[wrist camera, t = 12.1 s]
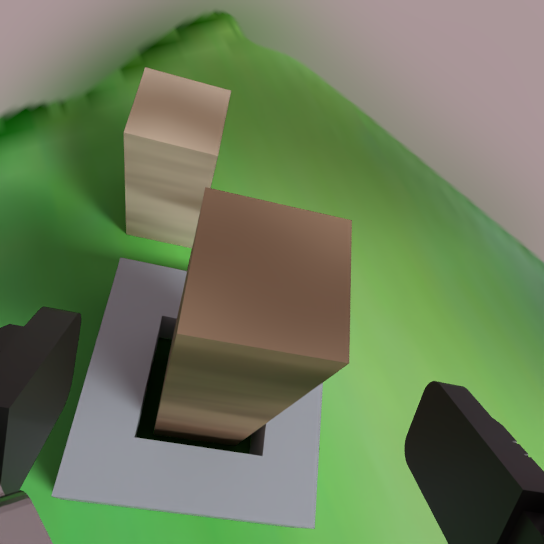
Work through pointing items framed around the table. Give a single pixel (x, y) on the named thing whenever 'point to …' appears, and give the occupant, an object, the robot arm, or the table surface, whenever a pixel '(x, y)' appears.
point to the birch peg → (171, 155)
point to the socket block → (171, 456)
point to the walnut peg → (255, 317)
